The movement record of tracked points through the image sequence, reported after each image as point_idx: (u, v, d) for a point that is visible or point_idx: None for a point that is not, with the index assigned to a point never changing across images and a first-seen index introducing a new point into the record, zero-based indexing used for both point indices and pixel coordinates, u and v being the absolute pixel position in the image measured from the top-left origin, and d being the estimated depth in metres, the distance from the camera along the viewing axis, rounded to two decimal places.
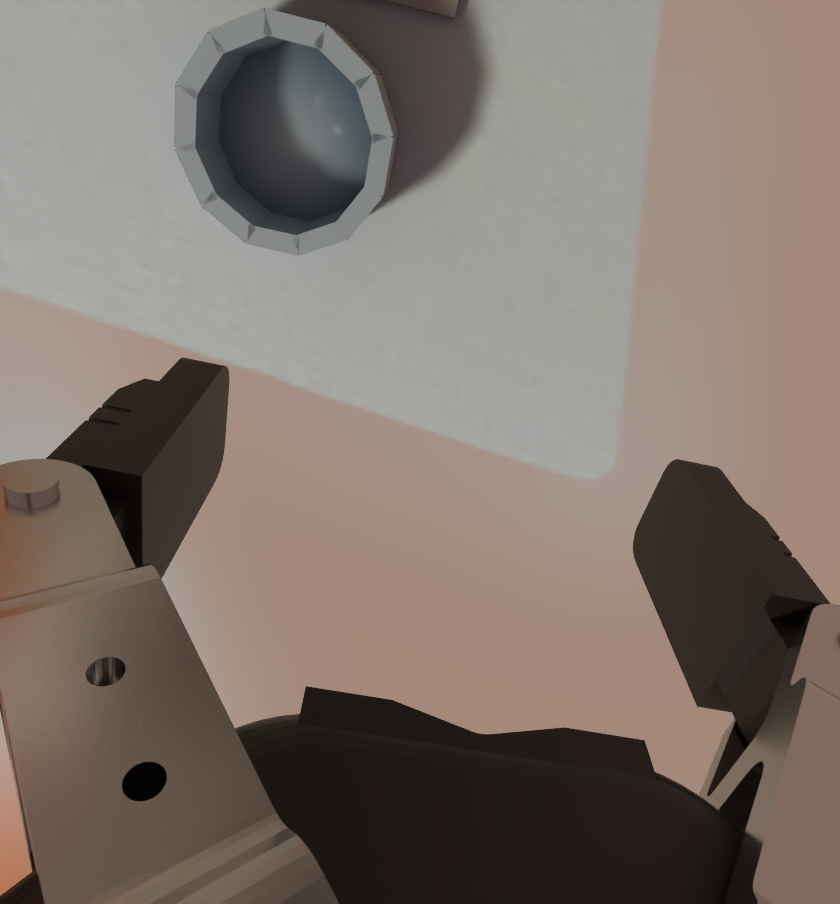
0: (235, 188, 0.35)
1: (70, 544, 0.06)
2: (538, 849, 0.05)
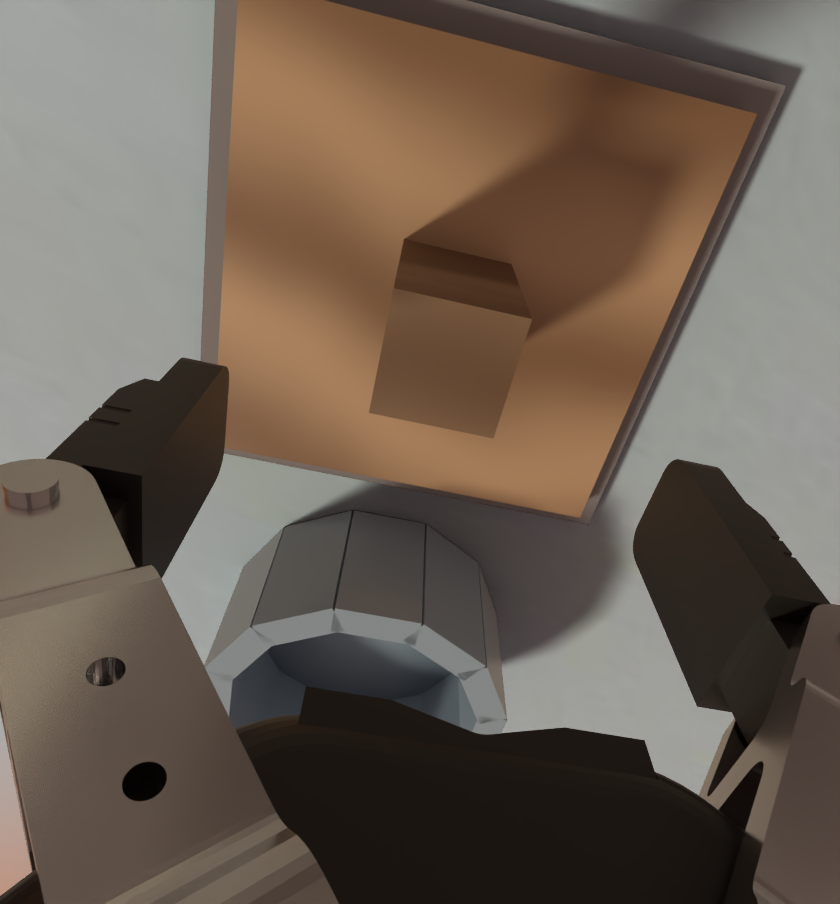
0: (278, 691, 0.26)
1: (70, 544, 0.06)
2: (538, 849, 0.05)
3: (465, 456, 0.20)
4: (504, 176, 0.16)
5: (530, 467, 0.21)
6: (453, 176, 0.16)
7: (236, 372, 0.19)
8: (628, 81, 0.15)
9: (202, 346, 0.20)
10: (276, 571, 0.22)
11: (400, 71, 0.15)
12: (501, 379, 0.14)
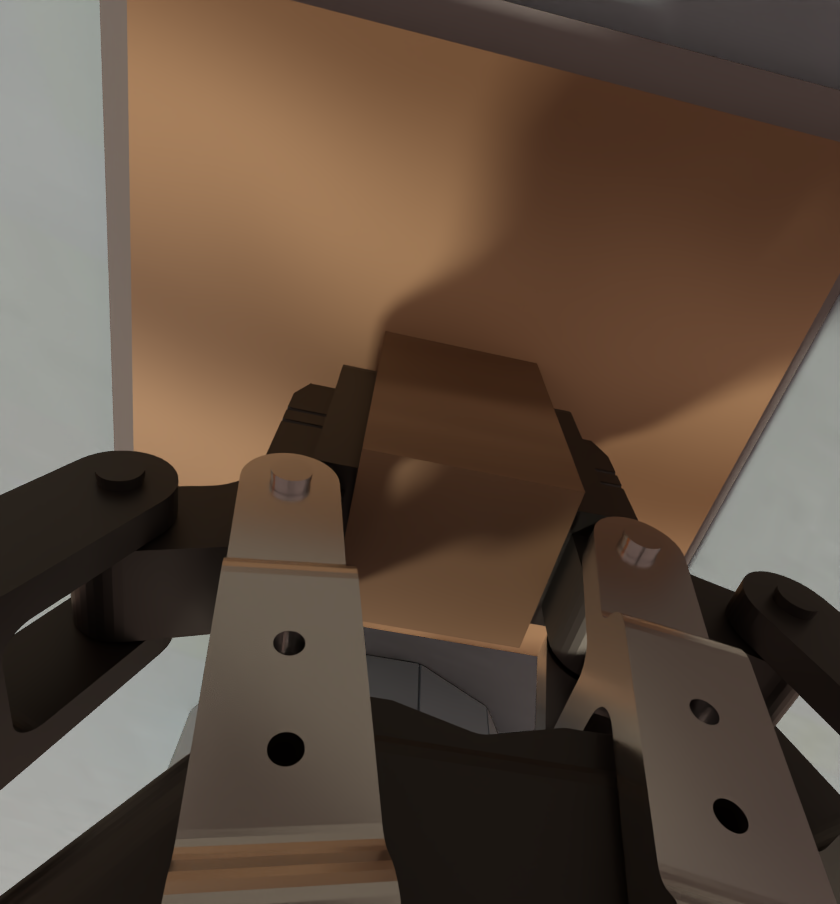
0: None
1: (342, 525, 0.07)
2: (538, 849, 0.05)
3: None
4: (529, 246, 0.11)
5: None
6: (455, 246, 0.11)
7: None
8: (715, 112, 0.10)
9: None
10: None
11: (376, 98, 0.10)
12: (533, 573, 0.09)
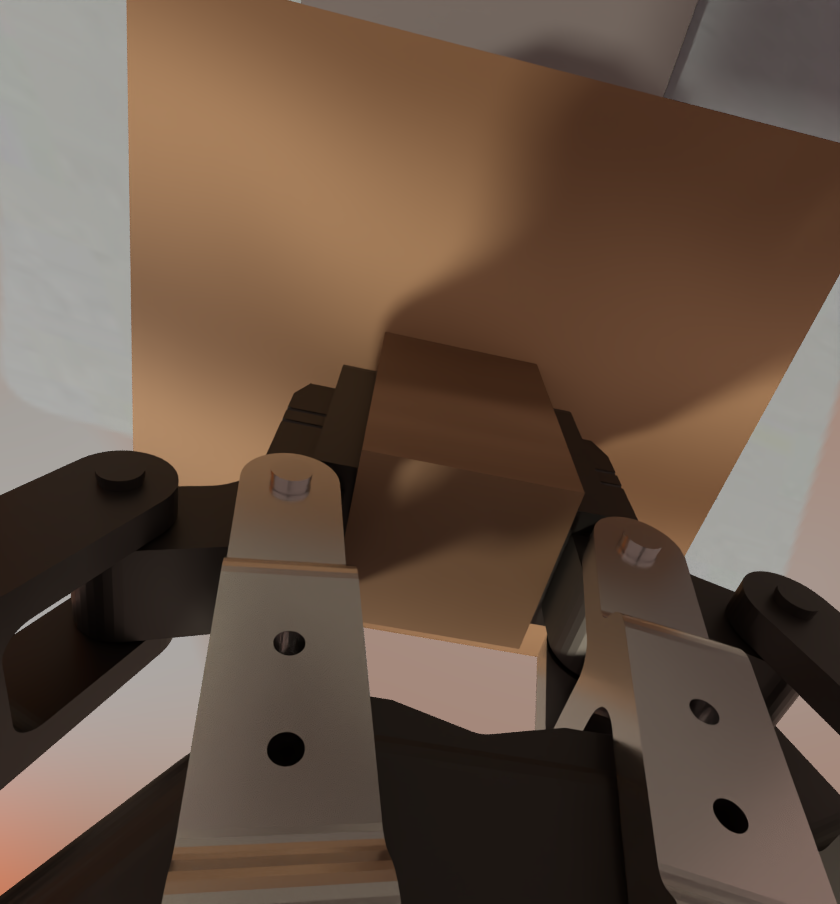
0: None
1: (342, 525, 0.07)
2: (538, 849, 0.05)
3: None
4: (528, 247, 0.11)
5: None
6: (455, 247, 0.11)
7: None
8: (715, 112, 0.10)
9: None
10: None
11: (376, 98, 0.10)
12: (533, 574, 0.09)
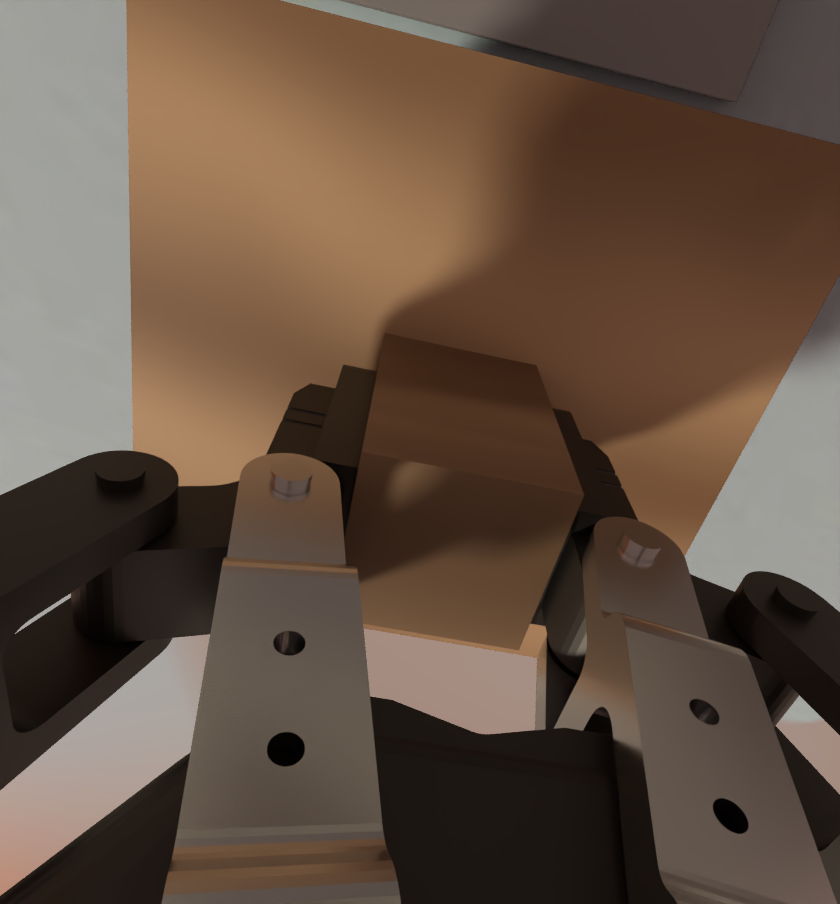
0: None
1: (342, 525, 0.07)
2: (538, 849, 0.05)
3: None
4: (528, 248, 0.11)
5: None
6: (454, 248, 0.11)
7: None
8: (714, 114, 0.10)
9: None
10: None
11: (375, 100, 0.10)
12: (533, 575, 0.09)
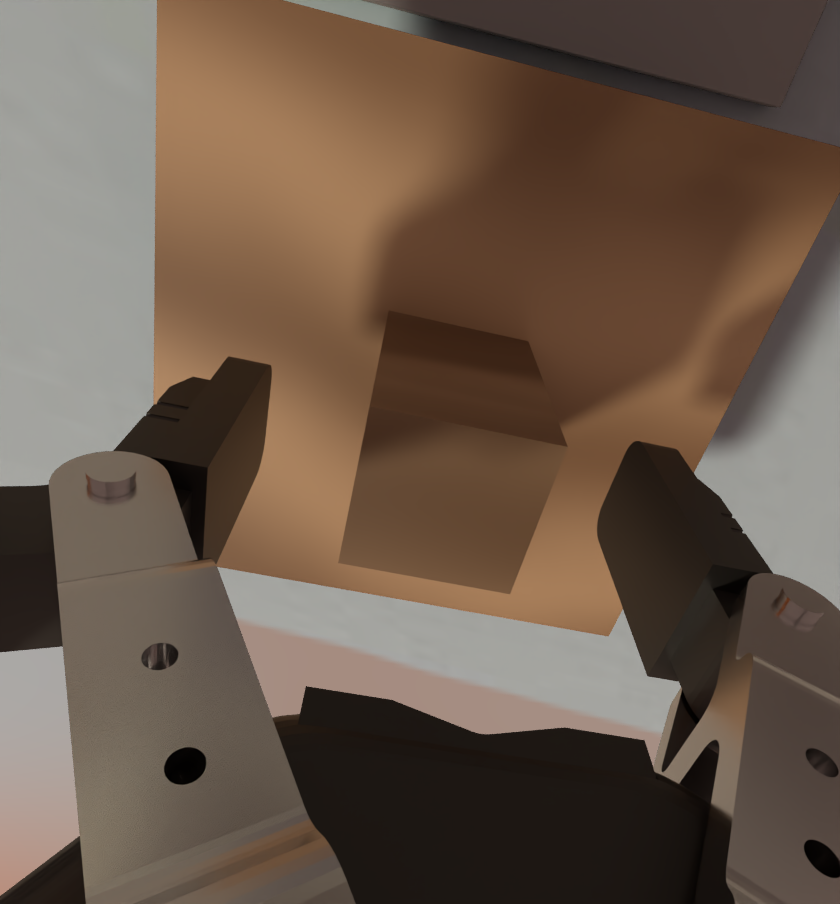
0: None
1: (154, 530, 0.06)
2: (538, 849, 0.05)
3: None
4: (520, 232, 0.12)
5: (549, 579, 0.17)
6: (453, 232, 0.12)
7: None
8: (689, 109, 0.11)
9: None
10: None
11: (382, 95, 0.11)
12: (522, 522, 0.10)
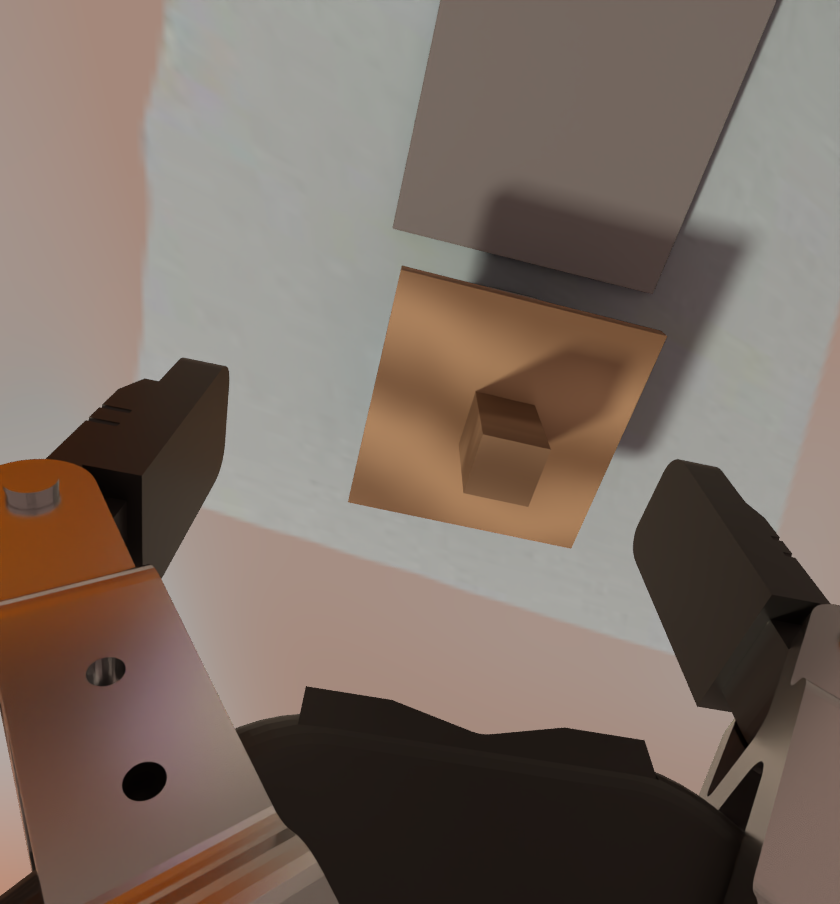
0: None
1: (70, 544, 0.06)
2: (538, 849, 0.05)
3: (502, 510, 0.34)
4: (532, 362, 0.29)
5: (541, 517, 0.34)
6: (505, 361, 0.30)
7: (369, 460, 0.32)
8: (599, 320, 0.28)
9: (410, 147, 0.30)
10: None
11: (480, 312, 0.28)
12: (534, 477, 0.27)
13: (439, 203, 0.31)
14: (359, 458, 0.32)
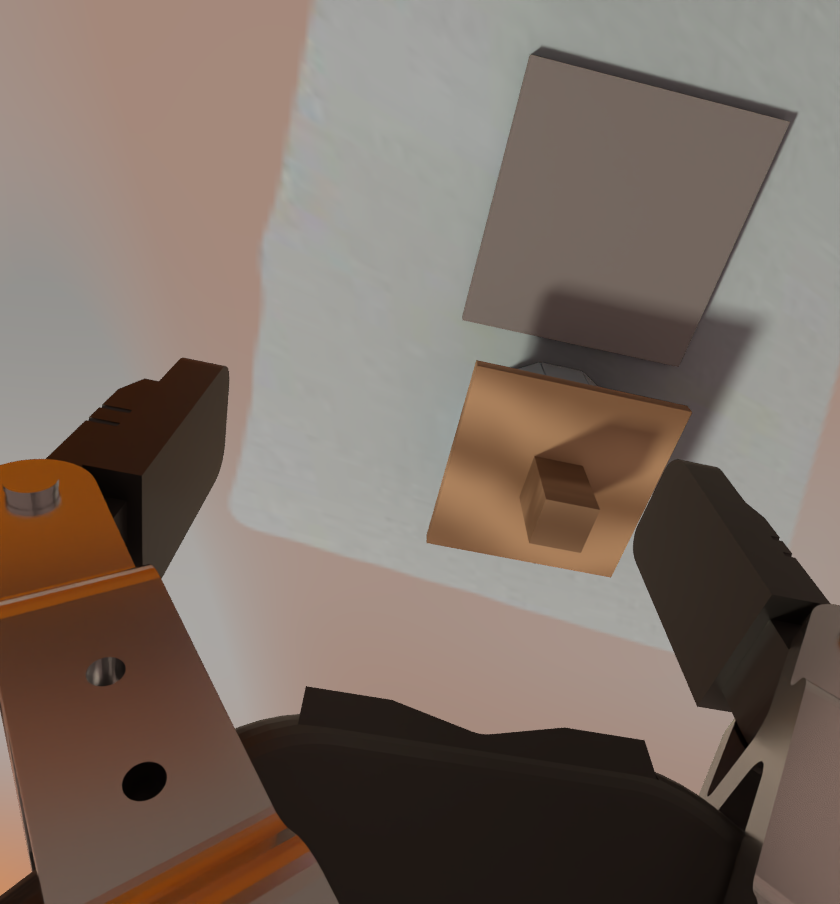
0: None
1: (70, 545, 0.06)
2: (538, 849, 0.05)
3: (554, 548, 0.41)
4: (581, 433, 0.36)
5: (586, 552, 0.41)
6: (559, 432, 0.36)
7: (445, 510, 0.39)
8: (637, 400, 0.35)
9: (479, 258, 0.37)
10: None
11: (540, 396, 0.35)
12: (586, 531, 0.34)
13: (501, 299, 0.38)
14: (437, 508, 0.39)
